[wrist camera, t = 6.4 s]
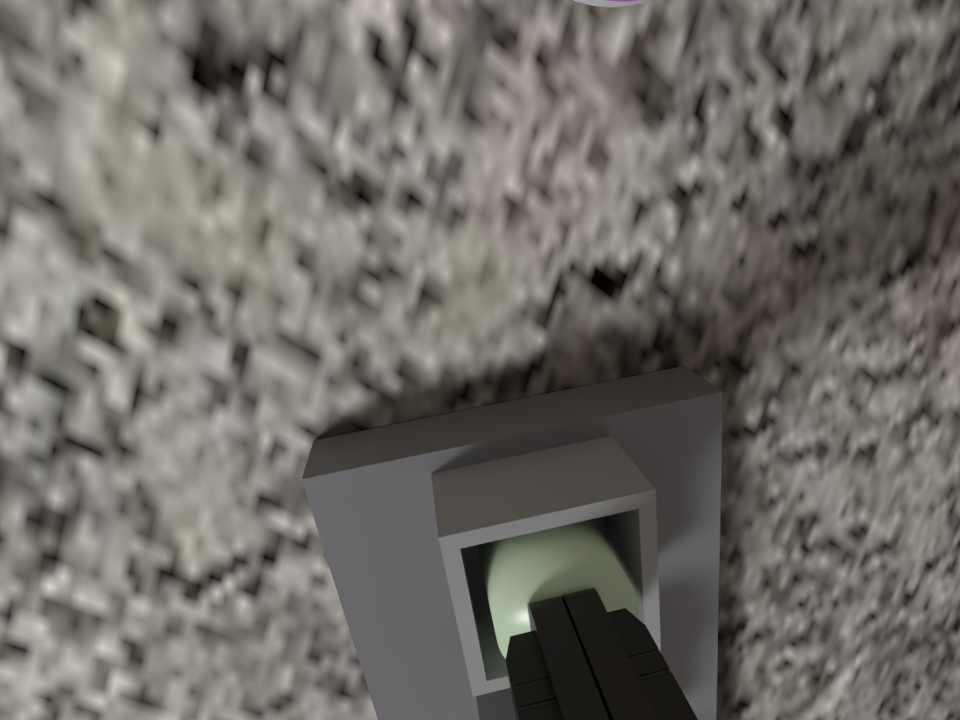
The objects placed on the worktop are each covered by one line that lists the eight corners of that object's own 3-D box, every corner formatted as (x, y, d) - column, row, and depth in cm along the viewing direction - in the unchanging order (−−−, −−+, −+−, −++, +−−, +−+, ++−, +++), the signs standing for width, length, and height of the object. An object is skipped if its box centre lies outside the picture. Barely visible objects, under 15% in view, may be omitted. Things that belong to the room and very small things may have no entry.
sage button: (590, 476, 14) (635, 548, 11) (597, 572, 15) (641, 659, 12) (468, 502, 13) (486, 583, 11) (486, 598, 14) (506, 692, 12)
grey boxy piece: (684, 366, 16) (788, 436, 11) (687, 774, 22) (754, 912, 18) (313, 440, 15) (280, 547, 10) (434, 843, 21) (443, 1007, 17)
